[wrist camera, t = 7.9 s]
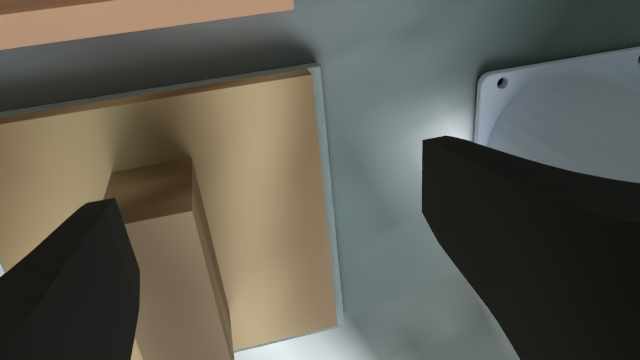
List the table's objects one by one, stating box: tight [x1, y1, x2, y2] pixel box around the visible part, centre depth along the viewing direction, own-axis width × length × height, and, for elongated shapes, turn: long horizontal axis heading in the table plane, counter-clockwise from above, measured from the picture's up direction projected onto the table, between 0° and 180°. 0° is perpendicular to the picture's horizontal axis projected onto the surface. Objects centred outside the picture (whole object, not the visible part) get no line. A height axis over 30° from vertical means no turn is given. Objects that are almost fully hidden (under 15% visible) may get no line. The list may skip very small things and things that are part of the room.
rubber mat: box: [0, 62, 344, 353], centre depth 22 cm, size 14×14×1 cm
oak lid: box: [0, 69, 338, 360], centre depth 19 cm, size 13×13×5 cm
